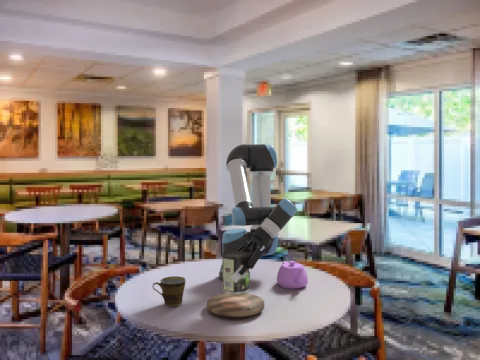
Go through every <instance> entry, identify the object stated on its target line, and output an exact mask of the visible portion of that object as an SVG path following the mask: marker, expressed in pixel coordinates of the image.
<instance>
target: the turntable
mask: <svg viewBox="0 0 480 360" xmlns="http://www.w3.org/2000/svg"><path fill="white" fill-rule="evenodd" d="M206 309H207V311H209V312H211V313H212V314H214V315H217V316H220V317H227V318H244V317H248V316H249V317H250V316H253V315H256V314H258V313H261V312H262V311H263V310H264V309H265V301H264V299H263V298H262V297H260V296H258V295H255V294H251V293H248V292H246V293H243V294H228V293H225V292H224V293H219V294H216V295H213V296H211V297H210V298H208V299H207V301H206Z"/></svg>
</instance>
